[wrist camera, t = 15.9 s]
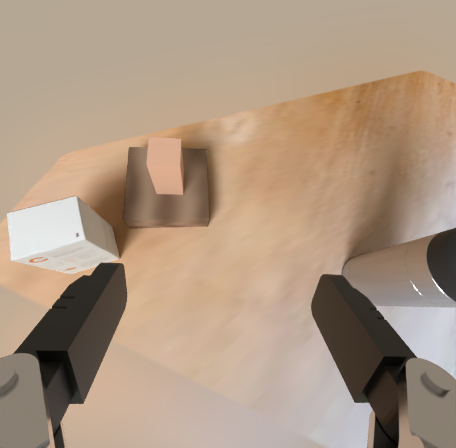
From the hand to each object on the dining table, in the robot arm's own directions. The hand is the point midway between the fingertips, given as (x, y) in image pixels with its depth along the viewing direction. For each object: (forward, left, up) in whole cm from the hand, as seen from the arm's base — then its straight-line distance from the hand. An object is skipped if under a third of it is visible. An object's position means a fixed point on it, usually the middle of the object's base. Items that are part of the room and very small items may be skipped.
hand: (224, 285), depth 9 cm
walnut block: (+7, -19, -32) cm, 39 cm away
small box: (+19, -8, -32) cm, 38 cm away
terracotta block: (+7, -19, -27) cm, 34 cm away
